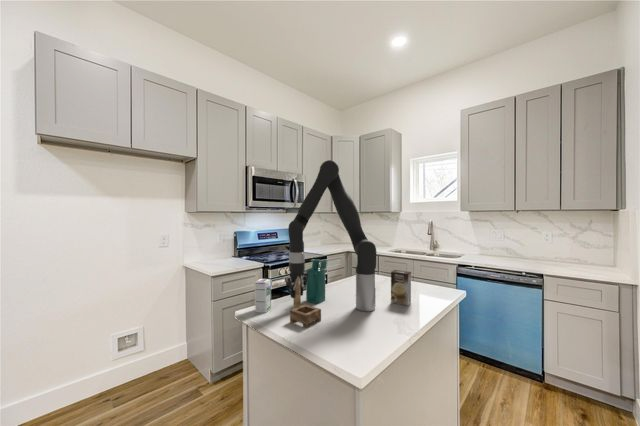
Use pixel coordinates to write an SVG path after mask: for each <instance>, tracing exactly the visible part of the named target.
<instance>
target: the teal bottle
mask: <svg viewBox="0 0 640 426" xmlns="http://www.w3.org/2000/svg"><path fill="white" fill-rule="evenodd" d="M310 262H311V267H309V268H307V269H306V271H305V273H308V278H307V284H306V287H305V288H306V290H305V296H306V297H305V300H306V302H308V303H314V304H320V303H322V302H325V300H326V268H327V262H328V261H327V259H322V260H321V259H318V258H313V259H310Z"/></svg>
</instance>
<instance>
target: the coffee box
mask: <svg viewBox="0 0 640 426" xmlns="http://www.w3.org/2000/svg"><path fill="white" fill-rule="evenodd" d="M411 290H412V272H411V271H407V270H401V269H393V270H392V271H391V272H390V303H393V304H396V305H397V304H399V305H403V306H409V305H410V304H411V303H412V299H411V298H412V291H411Z"/></svg>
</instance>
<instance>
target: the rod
mask: <svg viewBox="0 0 640 426" xmlns="http://www.w3.org/2000/svg"><path fill="white" fill-rule="evenodd" d="M293 283H294V282H293ZM292 299H293V302H292V303H293V309H295V308H297V307H300V306H302V305H301V303H302V302H301V301H302V300H301V289H300V276H299V279H298V282H297V285H296V287H295V298H292Z"/></svg>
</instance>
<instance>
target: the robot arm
mask: <svg viewBox="0 0 640 426" xmlns="http://www.w3.org/2000/svg"><path fill="white" fill-rule="evenodd" d="M339 172H340V167H339V165H338V163H337V162H336V161H335V160H326V161H324V162H322V163H321V165H320V167H319V170H318V174H317V176H316V179H315V180H314V183H313V185H312V186H311V188H310V189H309V192H308V193H307V194H306V196H305V198H304V199H303V201H302V203H300V206H299V208H298V210H297V214H296V215H295V217H294V219H293V220H292V221H290V223H289V224H288V228H287V229H288V230H287V231H288V238H289V254H288V271H289V273H290V274H289V276H288V277H285V278H284V280H285V285H286V286H285V287H286V290H289V291H290V295H289V296H290V298H291V299H293V298H295V287H296V285H297V282H298V279H299V276H300V289H301V296H303V294H304V287H305V286H306V284H307V278H308V273H306V272H304V271H305V270H306V269H305V268H306V267H305V265H306V263H305V262H306V261H305V242H304V240H303V239H304V231H305V229H306V227H307V225H308V222H309V220H310V219H311V217H312V216H313V214H314V212H315V210H316V209H317V207H318V205H319V204H320V201H321V199H322V197H323V195H324V194H325V191H326V190H327V189H328V191H329V194H330V196H331V199H332V203H333V205H334V207H335V208H334V209H335V210H336V212H337V214H338V217H339V218H340V220H341V222H342V225H343V227H344V228H345V230H346V232H347V234H348V235H349V239H350V242H351V244H352V247H353V250H354V253H355V254H356V256H357V258H356V259H357V264H356V266H355V309H356V310H358V311H360V312H373V311H375V310H376V269H377V247H376V245H375V243H374V242H373V241H370V240H369V239H368V237H367V236H366V234H365V232H364V230H363V228H362V224H361V219H360V214H359V212H358V208H357V207H356V203H355V202H354V200H353V199H352V197H351V195H350V193H349V192H348V191H347V190H346V187H345V186H344V185H343V182H342V180H341V178H340V176H341V175H340V173H339ZM293 282H294V283H293Z"/></svg>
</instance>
